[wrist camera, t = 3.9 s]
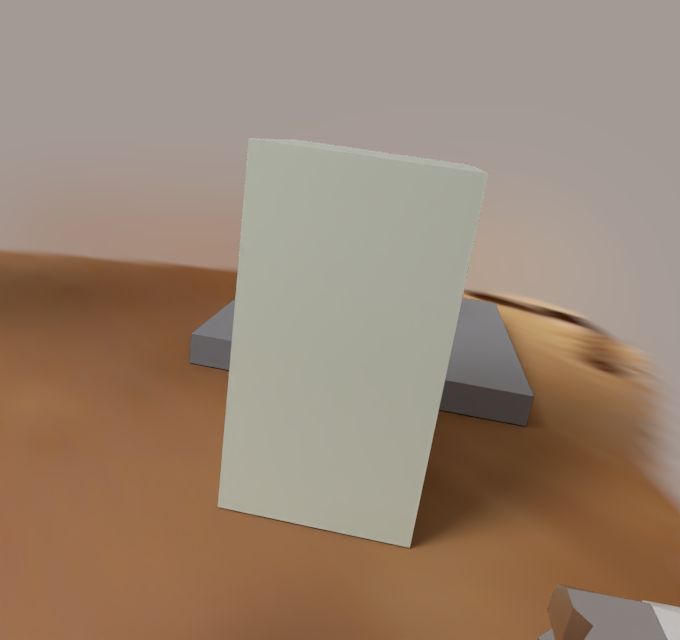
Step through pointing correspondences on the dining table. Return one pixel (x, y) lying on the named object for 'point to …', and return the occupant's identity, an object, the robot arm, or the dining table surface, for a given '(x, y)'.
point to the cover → (343, 332)
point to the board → (462, 373)
